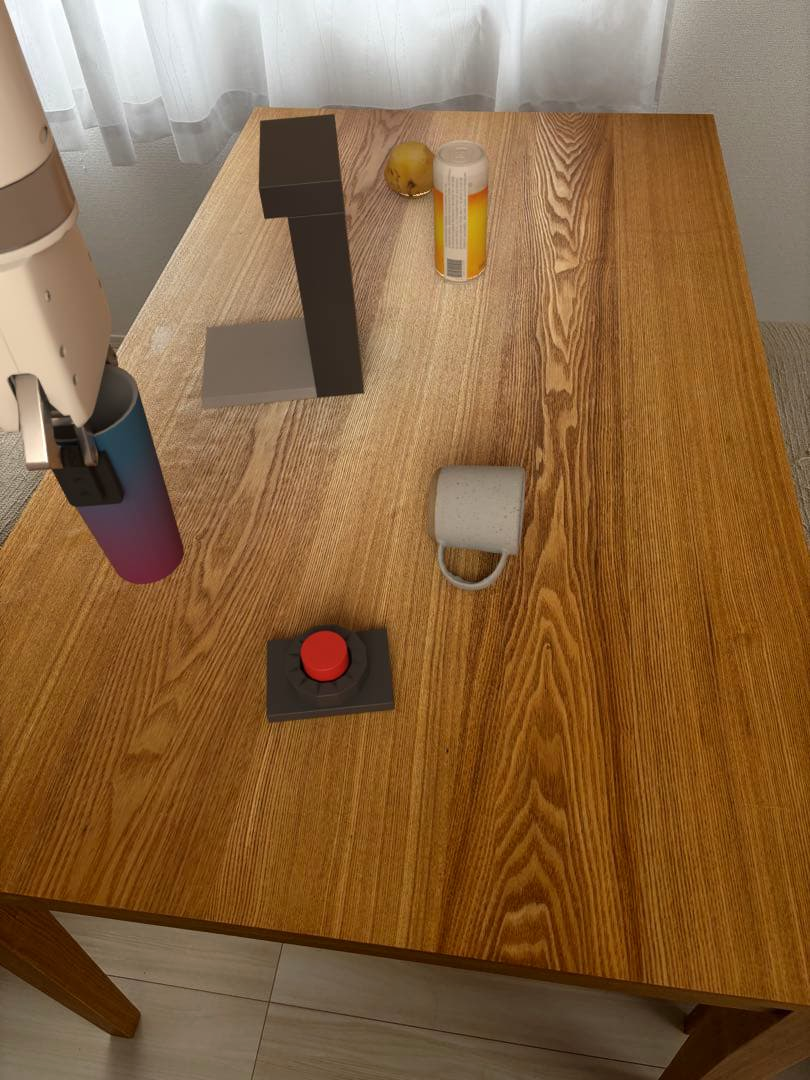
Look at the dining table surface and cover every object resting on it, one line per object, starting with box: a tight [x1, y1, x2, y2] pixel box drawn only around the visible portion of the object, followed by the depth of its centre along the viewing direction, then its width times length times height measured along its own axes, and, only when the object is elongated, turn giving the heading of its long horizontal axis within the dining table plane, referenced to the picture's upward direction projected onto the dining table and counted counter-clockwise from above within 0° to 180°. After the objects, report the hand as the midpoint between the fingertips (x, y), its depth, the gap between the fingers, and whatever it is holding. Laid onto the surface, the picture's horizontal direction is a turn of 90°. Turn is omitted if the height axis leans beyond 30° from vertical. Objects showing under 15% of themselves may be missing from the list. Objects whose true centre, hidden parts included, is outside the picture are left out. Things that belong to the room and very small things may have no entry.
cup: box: [50, 364, 185, 585], centre depth 57 cm, size 7×7×15 cm
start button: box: [301, 631, 349, 681], centre depth 68 cm, size 4×4×2 cm
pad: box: [265, 623, 395, 724], centre depth 70 cm, size 10×7×3 cm
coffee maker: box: [200, 113, 365, 410], centre depth 86 cm, size 17×12×24 cm
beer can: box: [432, 139, 490, 286], centre depth 99 cm, size 6×6×15 cm
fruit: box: [383, 141, 436, 199], centre depth 114 cm, size 7×7×10 cm
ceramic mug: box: [427, 464, 526, 591], centre depth 76 cm, size 11×8×8 cm
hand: (105, 459), depth 55 cm, fingers closed on cup, 6 cm apart
